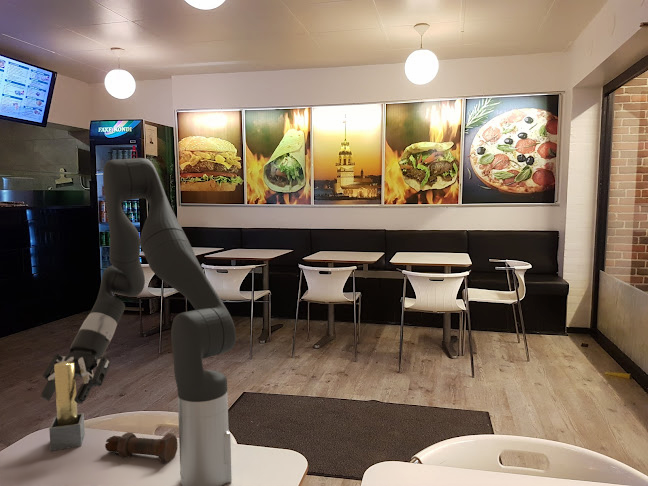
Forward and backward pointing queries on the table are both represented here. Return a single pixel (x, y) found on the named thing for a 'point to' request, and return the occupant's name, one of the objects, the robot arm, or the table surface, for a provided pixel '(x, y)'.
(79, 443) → the open square box
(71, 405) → the tall amber cylinder
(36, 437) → the table surface
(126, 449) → the bolt
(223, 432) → the robot arm
